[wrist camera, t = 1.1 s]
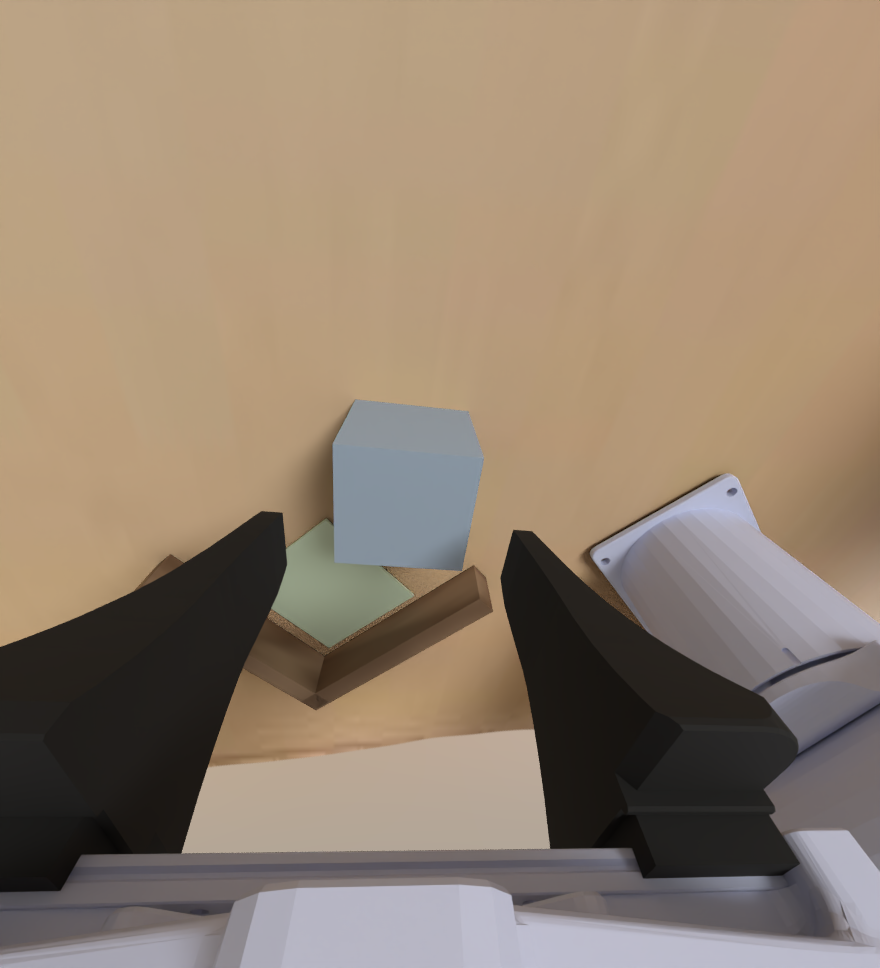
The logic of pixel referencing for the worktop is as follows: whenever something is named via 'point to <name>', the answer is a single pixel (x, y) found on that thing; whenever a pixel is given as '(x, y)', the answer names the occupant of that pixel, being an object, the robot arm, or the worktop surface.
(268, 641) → the wooden l-bracket
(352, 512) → the cube
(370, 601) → the pad
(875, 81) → the worktop surface
